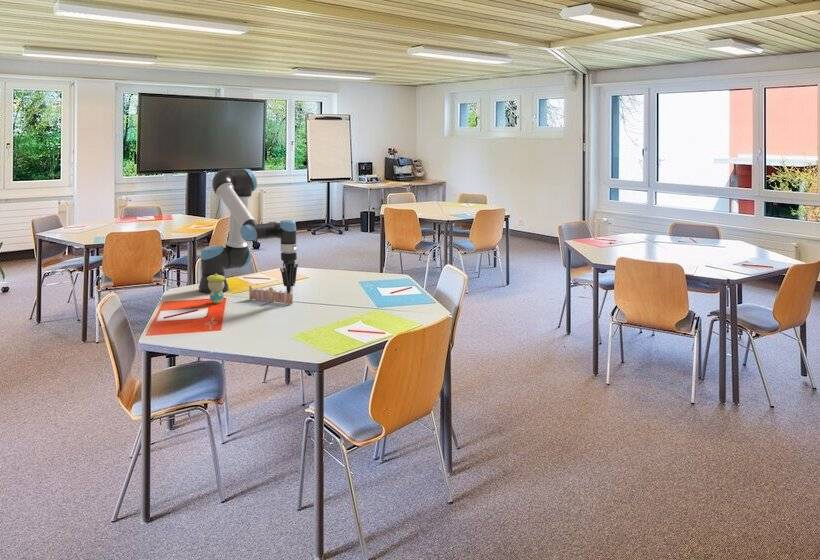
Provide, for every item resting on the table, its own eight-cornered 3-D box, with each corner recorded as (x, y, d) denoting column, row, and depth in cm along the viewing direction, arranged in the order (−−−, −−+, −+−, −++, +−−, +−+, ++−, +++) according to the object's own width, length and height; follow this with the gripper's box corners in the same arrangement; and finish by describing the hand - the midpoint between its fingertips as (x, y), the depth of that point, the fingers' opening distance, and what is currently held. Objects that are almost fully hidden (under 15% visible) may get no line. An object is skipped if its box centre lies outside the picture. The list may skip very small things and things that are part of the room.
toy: (217, 300, 332) (215, 271, 329) (229, 303, 327) (228, 273, 324) (204, 303, 326) (202, 273, 323) (216, 306, 321) (215, 276, 318)
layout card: (242, 305, 324) (242, 304, 324) (258, 299, 337) (258, 298, 337) (277, 309, 318) (277, 308, 317) (292, 303, 330) (292, 302, 330)
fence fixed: (275, 302, 331) (274, 287, 330) (272, 303, 329) (272, 288, 328) (251, 299, 336) (250, 284, 335) (248, 300, 334) (247, 285, 332)
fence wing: (273, 301, 329) (273, 289, 328) (275, 301, 330) (274, 289, 329) (291, 304, 325) (291, 292, 324) (292, 303, 326) (292, 291, 325)
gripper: (288, 254, 317) (289, 302, 322) (302, 250, 328) (303, 296, 333) (274, 253, 319) (276, 301, 325) (289, 249, 331) (290, 295, 336)
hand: (289, 299), depth 329 cm, fingers closed
